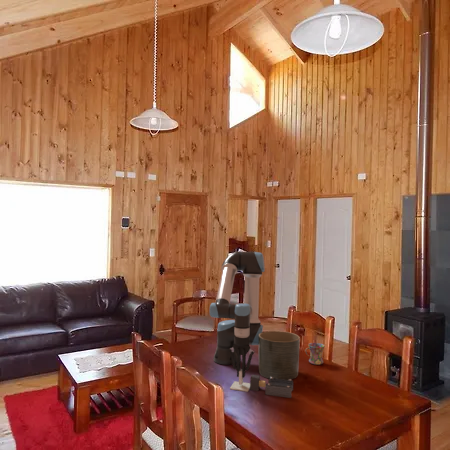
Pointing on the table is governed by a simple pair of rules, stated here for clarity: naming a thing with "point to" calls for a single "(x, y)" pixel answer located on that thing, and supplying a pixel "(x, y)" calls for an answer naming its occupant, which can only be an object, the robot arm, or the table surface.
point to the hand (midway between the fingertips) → (240, 383)
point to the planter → (278, 354)
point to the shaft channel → (279, 387)
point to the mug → (315, 353)
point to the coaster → (240, 386)
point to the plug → (256, 382)
